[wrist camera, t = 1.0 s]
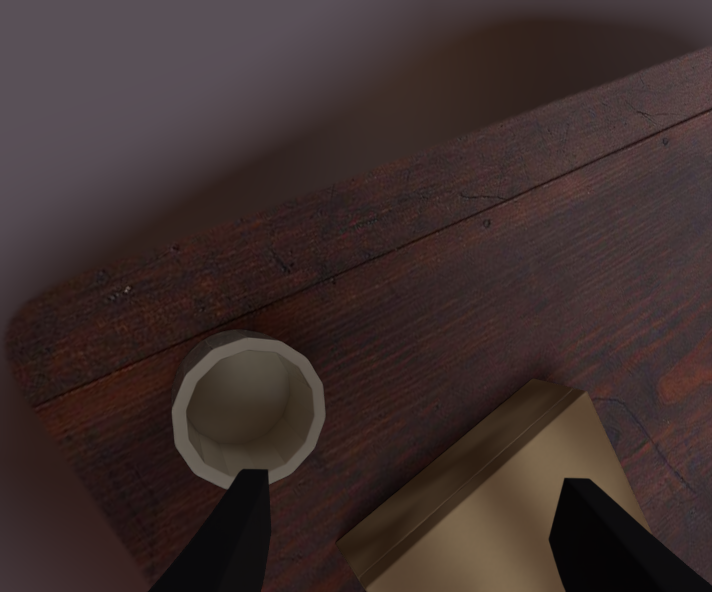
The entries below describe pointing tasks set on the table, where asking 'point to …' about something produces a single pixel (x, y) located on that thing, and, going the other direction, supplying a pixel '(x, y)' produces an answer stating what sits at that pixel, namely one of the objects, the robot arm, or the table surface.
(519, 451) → the square wooden board
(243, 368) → the ramekin
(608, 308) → the table surface
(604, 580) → the robot arm
